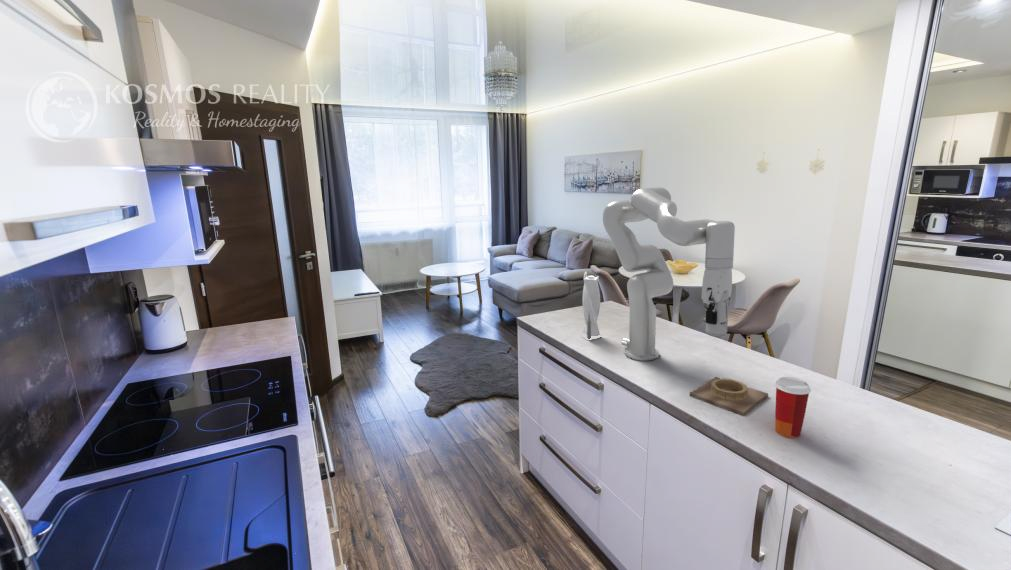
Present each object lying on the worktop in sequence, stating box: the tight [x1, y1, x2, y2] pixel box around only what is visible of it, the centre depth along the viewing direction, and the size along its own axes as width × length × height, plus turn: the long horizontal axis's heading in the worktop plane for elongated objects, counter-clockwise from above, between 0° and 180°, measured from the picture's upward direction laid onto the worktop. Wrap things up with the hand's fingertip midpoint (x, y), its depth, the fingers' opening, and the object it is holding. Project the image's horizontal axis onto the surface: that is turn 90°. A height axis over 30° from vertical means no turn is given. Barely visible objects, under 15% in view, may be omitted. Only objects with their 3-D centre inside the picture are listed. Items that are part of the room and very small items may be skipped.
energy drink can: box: [705, 290, 730, 338], centre depth 134 cm, size 6×6×15 cm
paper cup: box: [774, 376, 812, 439], centre depth 113 cm, size 8×8×14 cm
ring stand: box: [689, 376, 769, 416], centre depth 133 cm, size 16×16×4 cm
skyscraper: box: [581, 271, 601, 339], centre depth 186 cm, size 8×8×28 cm
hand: (716, 320), depth 135 cm, fingers closed on energy drink can, 6 cm apart
